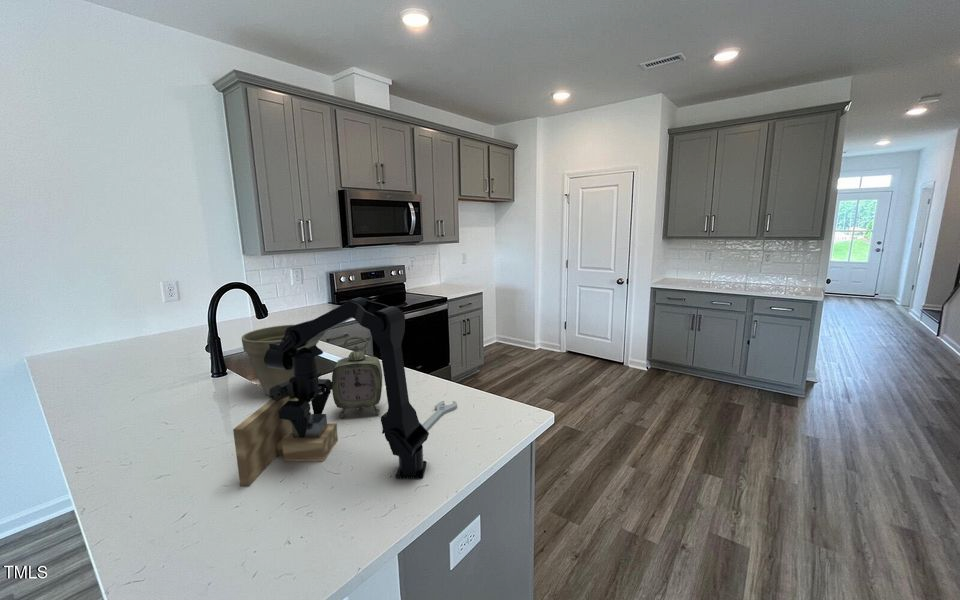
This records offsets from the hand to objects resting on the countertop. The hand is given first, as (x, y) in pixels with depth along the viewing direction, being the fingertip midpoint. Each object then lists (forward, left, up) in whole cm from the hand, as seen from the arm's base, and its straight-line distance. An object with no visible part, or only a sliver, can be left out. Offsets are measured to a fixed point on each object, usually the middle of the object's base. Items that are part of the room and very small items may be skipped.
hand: (310, 428), depth 104 cm
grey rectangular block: (0, 0, -5) cm, 5 cm away
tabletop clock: (+22, -6, -6) cm, 24 cm away
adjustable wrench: (+17, -29, -7) cm, 35 cm away
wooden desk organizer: (0, +3, -6) cm, 7 cm away
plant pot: (+41, +27, -6) cm, 50 cm away
